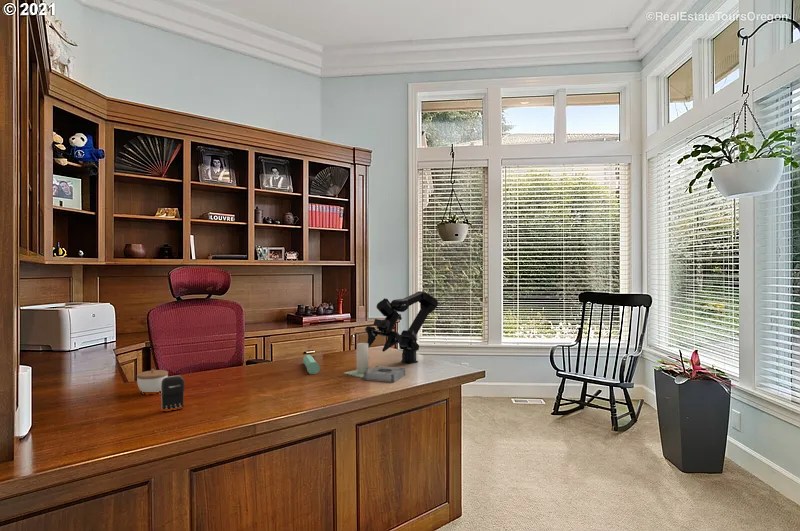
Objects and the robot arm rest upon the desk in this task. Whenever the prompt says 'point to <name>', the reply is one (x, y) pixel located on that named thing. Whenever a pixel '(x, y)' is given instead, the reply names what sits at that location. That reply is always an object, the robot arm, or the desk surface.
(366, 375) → the flange
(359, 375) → the felt pad
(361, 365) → the end plug
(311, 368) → the green faceted rod
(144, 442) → the desk surface
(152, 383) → the lidded jar
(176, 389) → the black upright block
